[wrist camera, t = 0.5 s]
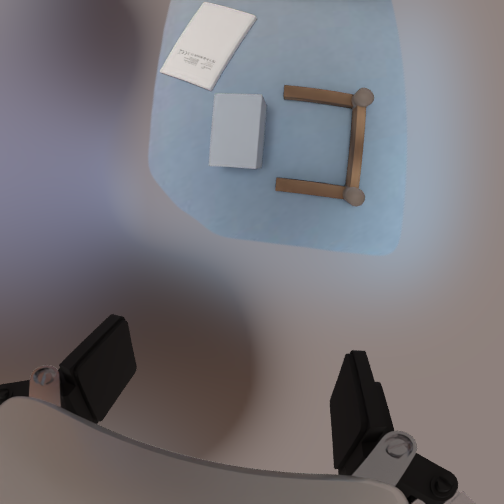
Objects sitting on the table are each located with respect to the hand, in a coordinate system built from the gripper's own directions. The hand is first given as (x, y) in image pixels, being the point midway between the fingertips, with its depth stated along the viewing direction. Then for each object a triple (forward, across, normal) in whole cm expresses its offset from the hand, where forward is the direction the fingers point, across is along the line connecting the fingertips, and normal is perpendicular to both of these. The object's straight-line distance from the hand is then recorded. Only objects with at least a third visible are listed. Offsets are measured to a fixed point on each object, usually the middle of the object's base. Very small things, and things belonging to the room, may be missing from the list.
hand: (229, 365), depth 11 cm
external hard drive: (+27, +10, -24) cm, 38 cm away
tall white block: (+26, +4, -11) cm, 29 cm away
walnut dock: (+26, -4, -11) cm, 29 cm away
